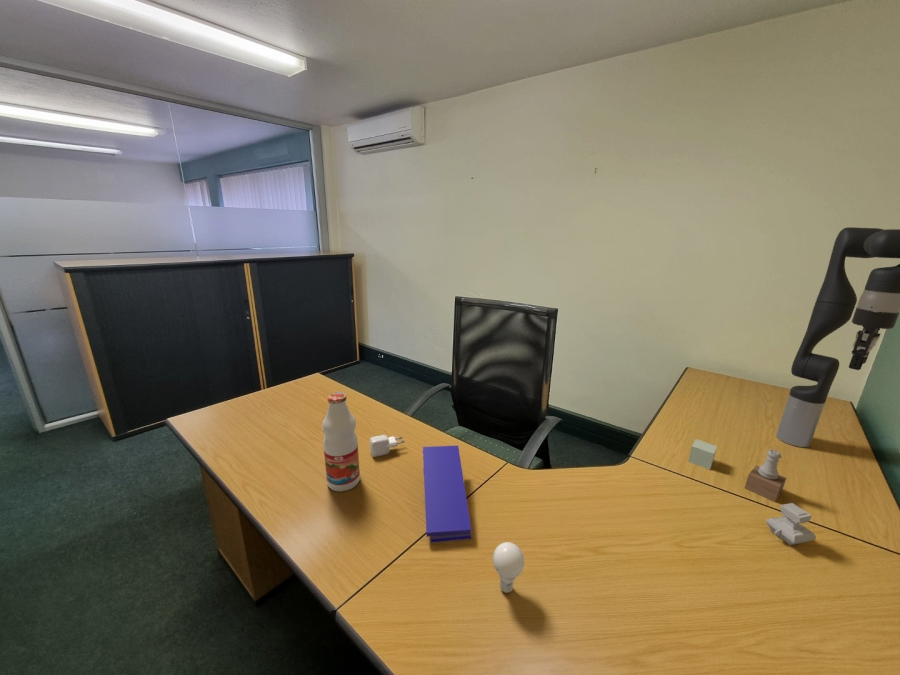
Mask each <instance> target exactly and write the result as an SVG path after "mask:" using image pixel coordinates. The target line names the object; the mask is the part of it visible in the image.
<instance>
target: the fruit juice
mask: <svg viewBox="0 0 900 675" xmlns="http://www.w3.org/2000/svg"><path fill="white" fill-rule="evenodd" d="M327 403H328V407H327V412H326V414H325V417H324V419H323V421H322V424H321V428H322V432H323V435H324V438H323V454H324V464H325V465H324V466H325V474H326V484H327V486H328V488H329V489H330V490H332V491H333V492H334V491H335V492H346V491H350V490H351V489H353V488H355V487H356V486H357V485H358V483H359V481H360V478H361V476H360V474H361V472H360V460H359V458H360V457H359V441H358V437H357V433H356V432H355V430H356V428H357V427H356V426H357V422H356V418H355V416H354V414H352V413H351V410H350V409H349V406H348V405H347V395H346V393H344V392H334V393H331V394H329V395H328V396H327Z"/></svg>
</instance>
